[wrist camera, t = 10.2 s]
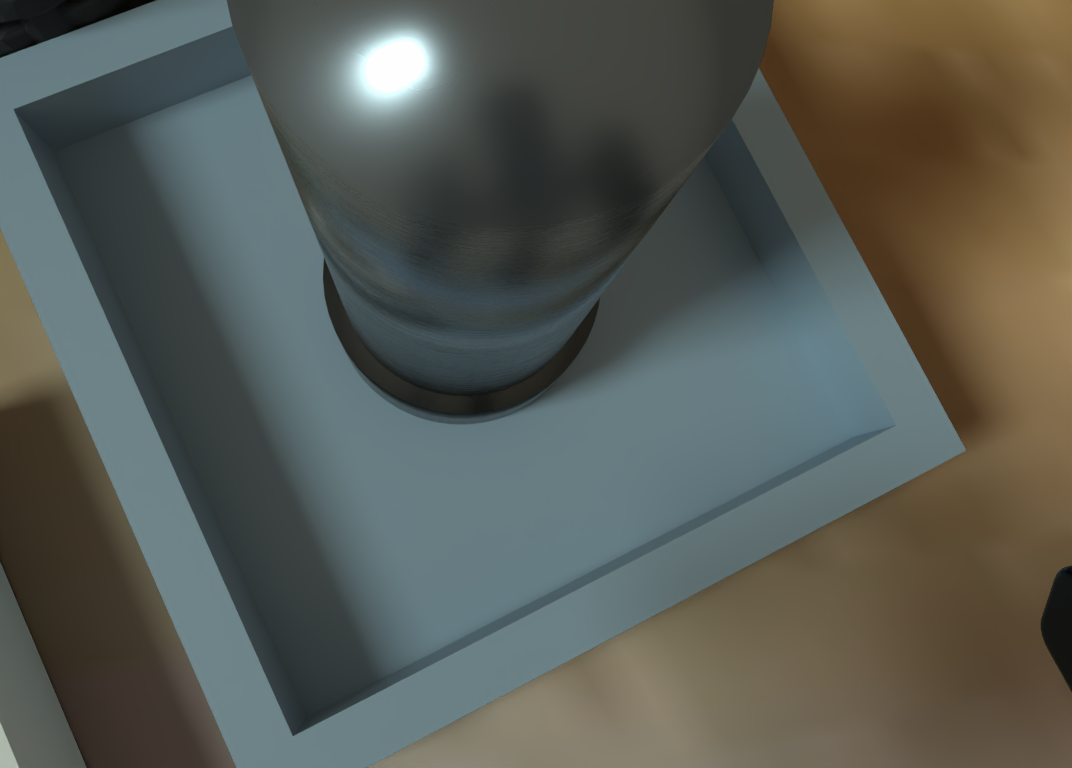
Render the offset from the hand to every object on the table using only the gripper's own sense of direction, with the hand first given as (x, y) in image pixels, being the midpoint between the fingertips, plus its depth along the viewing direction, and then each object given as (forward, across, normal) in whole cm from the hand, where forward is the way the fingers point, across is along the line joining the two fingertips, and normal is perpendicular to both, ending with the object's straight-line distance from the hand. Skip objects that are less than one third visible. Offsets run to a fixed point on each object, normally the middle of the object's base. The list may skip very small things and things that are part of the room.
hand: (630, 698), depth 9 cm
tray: (+12, 0, +2) cm, 12 cm away
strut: (+11, 0, +2) cm, 12 cm away
